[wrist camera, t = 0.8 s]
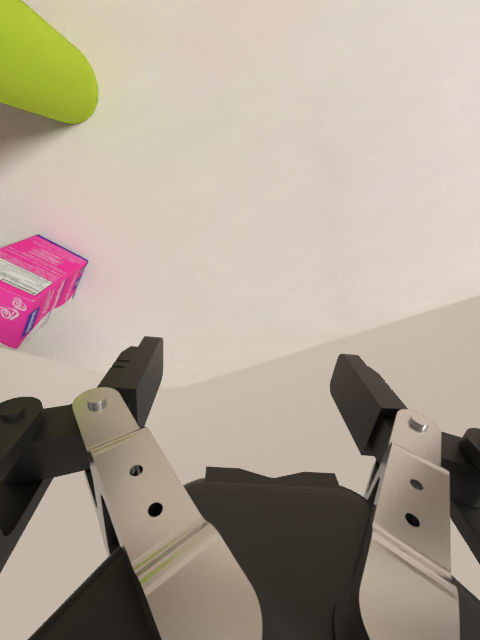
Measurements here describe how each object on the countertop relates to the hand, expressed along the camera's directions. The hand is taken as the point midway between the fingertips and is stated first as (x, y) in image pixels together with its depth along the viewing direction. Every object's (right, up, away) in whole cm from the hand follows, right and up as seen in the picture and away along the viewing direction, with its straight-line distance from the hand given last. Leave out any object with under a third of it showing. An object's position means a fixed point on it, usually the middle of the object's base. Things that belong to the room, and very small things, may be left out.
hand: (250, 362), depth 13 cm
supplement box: (-22, +8, +19) cm, 30 cm away
